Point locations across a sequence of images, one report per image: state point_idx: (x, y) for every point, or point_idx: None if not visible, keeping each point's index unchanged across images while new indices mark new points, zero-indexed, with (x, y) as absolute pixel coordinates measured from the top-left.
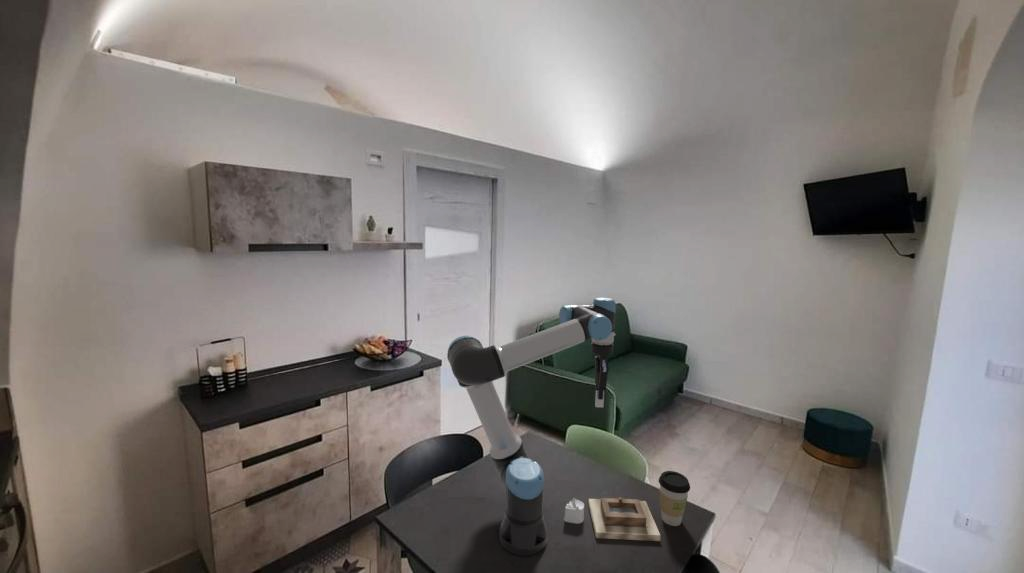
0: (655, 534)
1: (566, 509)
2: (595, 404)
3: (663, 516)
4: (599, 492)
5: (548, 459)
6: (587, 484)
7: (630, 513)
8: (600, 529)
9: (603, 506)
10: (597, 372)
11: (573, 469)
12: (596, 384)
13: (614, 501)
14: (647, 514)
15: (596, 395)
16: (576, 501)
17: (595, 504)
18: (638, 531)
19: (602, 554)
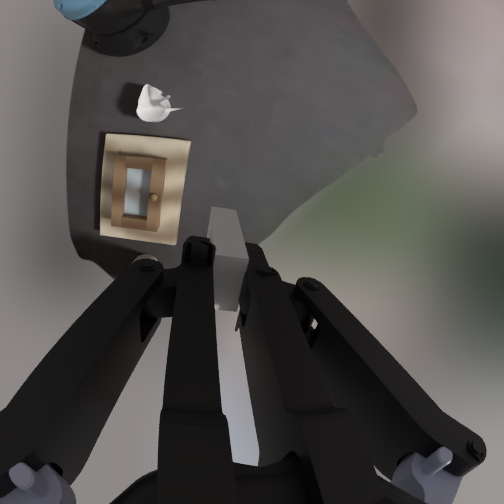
0: (101, 228)
1: (144, 86)
2: (223, 211)
3: (140, 257)
4: (221, 172)
5: (343, 109)
6: (249, 157)
7: (121, 202)
8: (111, 142)
9: (140, 158)
10: (276, 381)
11: (302, 146)
12: (253, 279)
13: (152, 184)
14: (142, 234)
15: (212, 234)
16: (162, 109)
17: (172, 149)
18: (106, 204)
19: (81, 136)
